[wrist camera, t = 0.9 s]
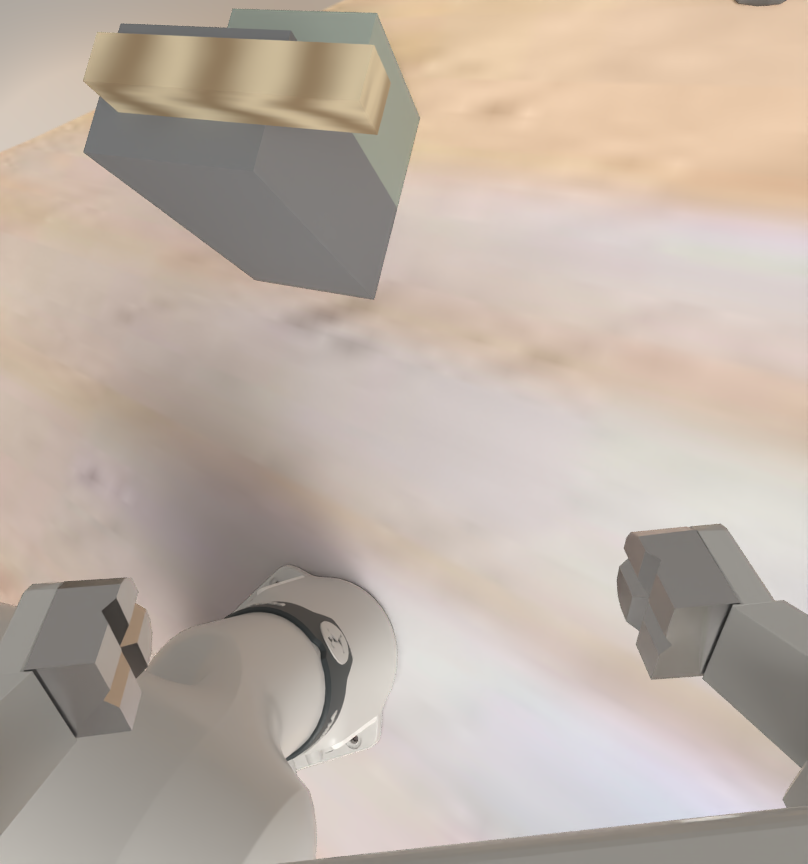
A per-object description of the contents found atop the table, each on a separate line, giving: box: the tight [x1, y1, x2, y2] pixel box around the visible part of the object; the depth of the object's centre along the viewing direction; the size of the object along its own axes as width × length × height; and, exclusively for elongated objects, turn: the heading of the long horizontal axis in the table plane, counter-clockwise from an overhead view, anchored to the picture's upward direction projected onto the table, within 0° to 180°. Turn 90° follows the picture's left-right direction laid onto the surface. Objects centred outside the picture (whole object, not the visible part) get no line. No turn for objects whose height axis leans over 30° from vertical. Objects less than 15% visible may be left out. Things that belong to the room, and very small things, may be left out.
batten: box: [83, 32, 391, 135], centre depth 43 cm, size 20×4×4 cm, turn 76°
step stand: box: [84, 9, 420, 300], centre depth 59 cm, size 14×20×26 cm
